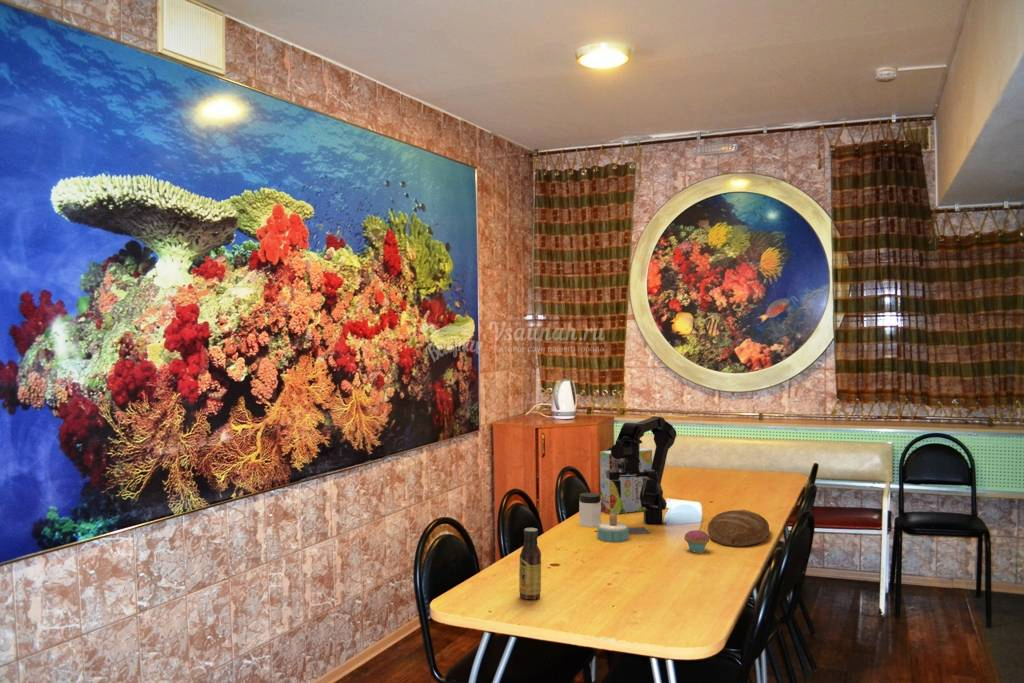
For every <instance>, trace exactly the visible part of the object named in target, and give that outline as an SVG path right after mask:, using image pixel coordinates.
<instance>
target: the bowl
mask: <svg viewBox="0 0 1024 683" xmlns="http://www.w3.org/2000/svg"><path fill="white" fill-rule="evenodd" d="M629 528H630V527H627V530H625V531H619V532H611V531H604V530H601V529H600V528H599V526H596V536H597V539H598V540H599V541H602V542H608V543H622V542H626V541H628V540H629V537H630V534H629Z"/></svg>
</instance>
